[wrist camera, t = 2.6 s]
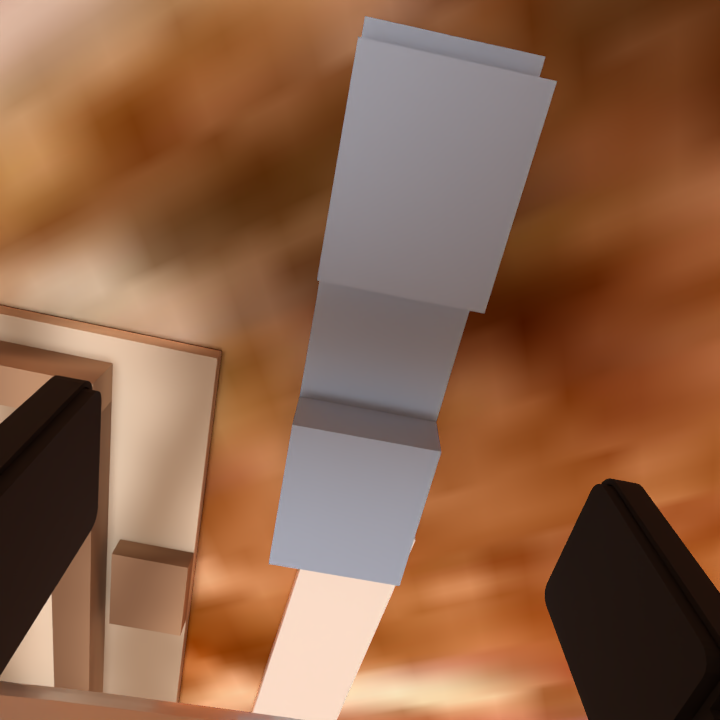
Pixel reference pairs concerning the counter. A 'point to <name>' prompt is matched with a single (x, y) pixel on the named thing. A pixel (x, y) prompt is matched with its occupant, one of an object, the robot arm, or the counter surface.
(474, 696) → the counter surface
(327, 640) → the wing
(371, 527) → the notched grey stepped bar
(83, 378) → the jig
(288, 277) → the counter surface
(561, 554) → the robot arm
